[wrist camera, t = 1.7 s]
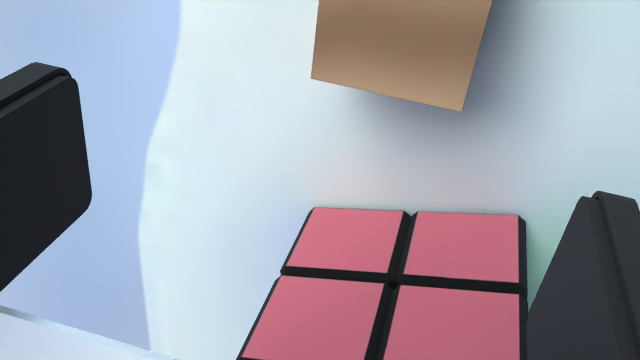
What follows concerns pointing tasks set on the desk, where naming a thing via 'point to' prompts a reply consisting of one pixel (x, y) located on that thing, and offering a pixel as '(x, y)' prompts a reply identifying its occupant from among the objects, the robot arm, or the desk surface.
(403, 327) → the puzzle cube
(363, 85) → the light brown cube
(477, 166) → the desk surface
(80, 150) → the robot arm
